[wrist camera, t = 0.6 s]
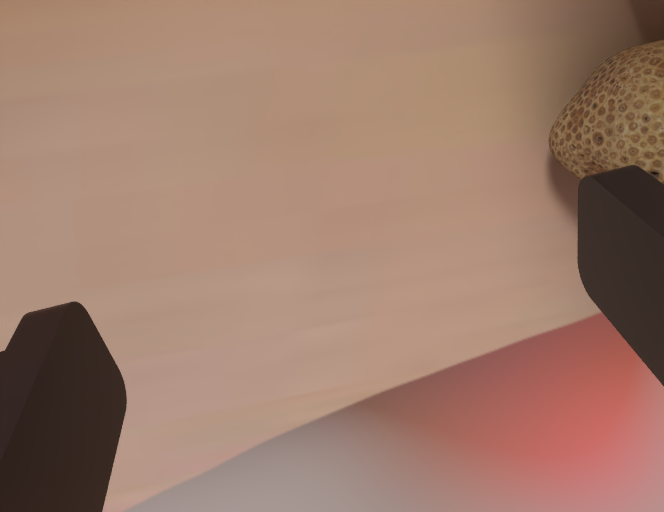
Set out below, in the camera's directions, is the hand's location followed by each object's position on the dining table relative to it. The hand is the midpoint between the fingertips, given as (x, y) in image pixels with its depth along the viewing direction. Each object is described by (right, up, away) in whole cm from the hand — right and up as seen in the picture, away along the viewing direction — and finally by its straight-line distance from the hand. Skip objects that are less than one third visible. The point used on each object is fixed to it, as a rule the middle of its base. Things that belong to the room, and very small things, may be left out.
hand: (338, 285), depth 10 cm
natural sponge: (+16, +10, +27) cm, 33 cm away
